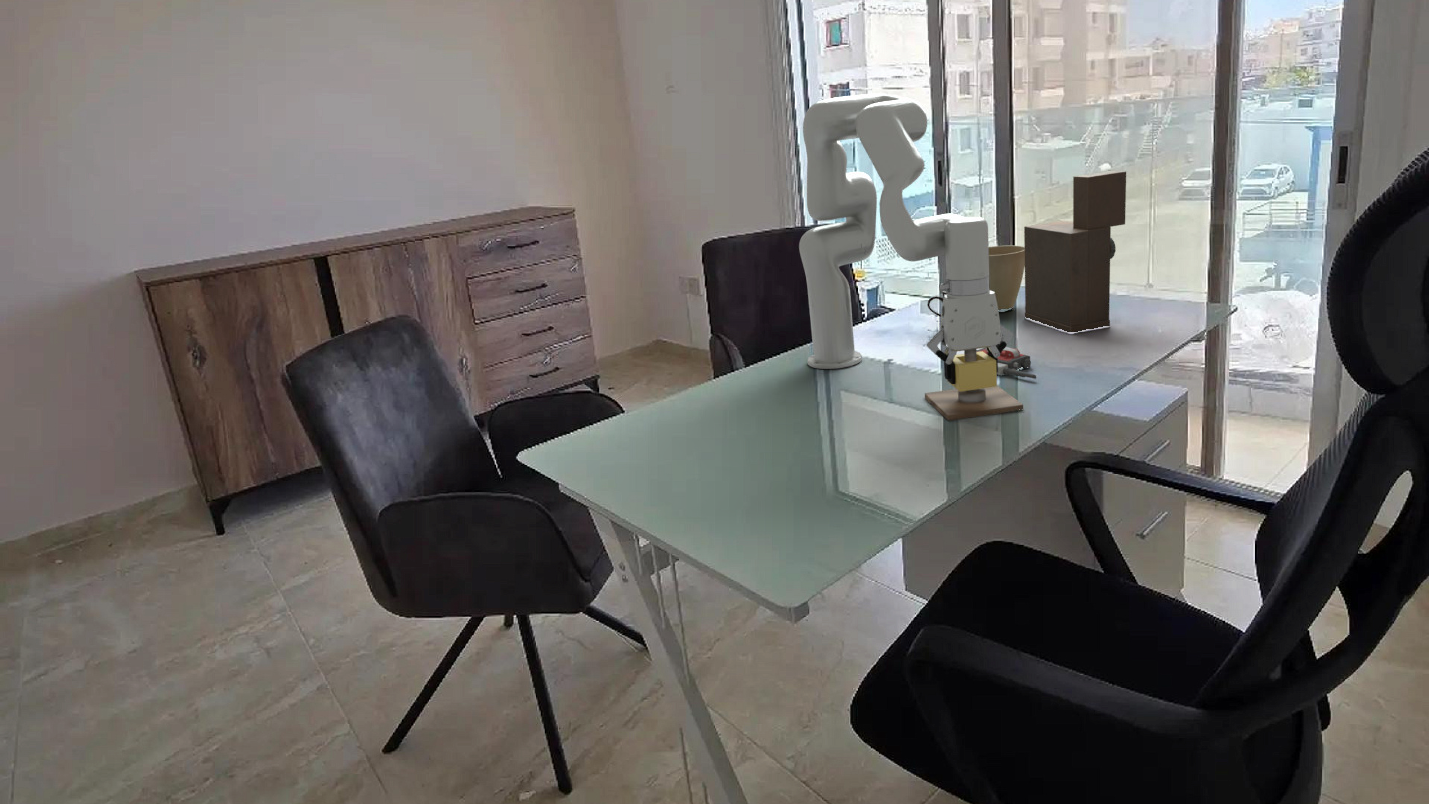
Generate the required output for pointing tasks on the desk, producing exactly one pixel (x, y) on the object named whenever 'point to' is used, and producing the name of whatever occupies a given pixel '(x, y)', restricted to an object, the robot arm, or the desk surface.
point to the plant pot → (1006, 273)
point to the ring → (975, 372)
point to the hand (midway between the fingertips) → (971, 378)
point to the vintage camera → (1075, 256)
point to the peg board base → (972, 399)
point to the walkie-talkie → (1012, 362)
